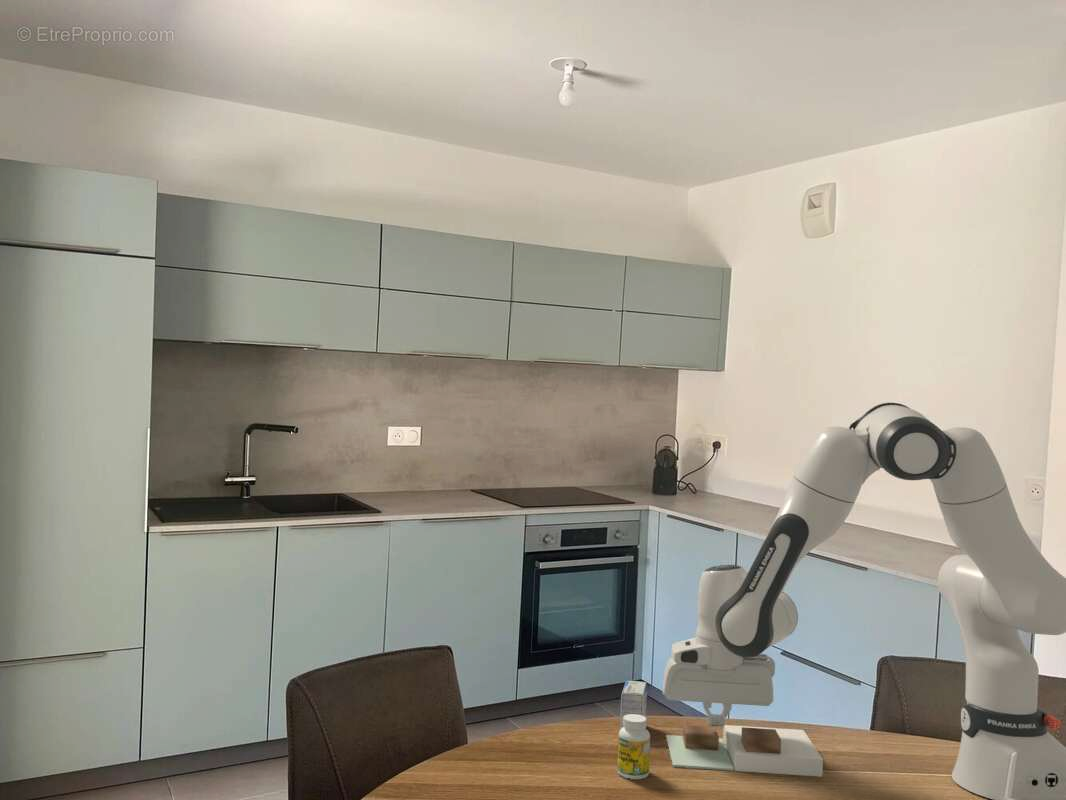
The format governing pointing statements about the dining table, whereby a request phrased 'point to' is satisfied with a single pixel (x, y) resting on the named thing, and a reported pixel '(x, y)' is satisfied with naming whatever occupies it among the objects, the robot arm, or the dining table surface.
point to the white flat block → (792, 760)
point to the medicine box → (633, 699)
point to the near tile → (761, 740)
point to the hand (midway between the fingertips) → (716, 725)
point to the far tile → (700, 737)
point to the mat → (698, 755)
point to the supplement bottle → (634, 747)
